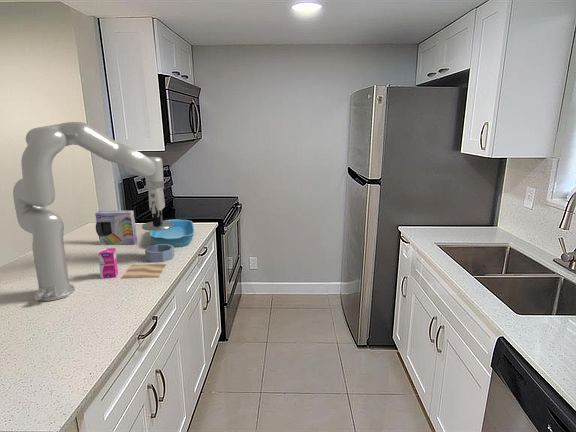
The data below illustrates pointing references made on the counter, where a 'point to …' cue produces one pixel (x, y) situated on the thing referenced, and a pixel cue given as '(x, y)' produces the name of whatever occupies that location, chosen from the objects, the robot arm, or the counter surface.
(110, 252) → the supplement box
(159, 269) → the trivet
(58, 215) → the robot arm
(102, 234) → the cake pan box
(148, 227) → the lid
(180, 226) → the casserole dish
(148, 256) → the bowl
